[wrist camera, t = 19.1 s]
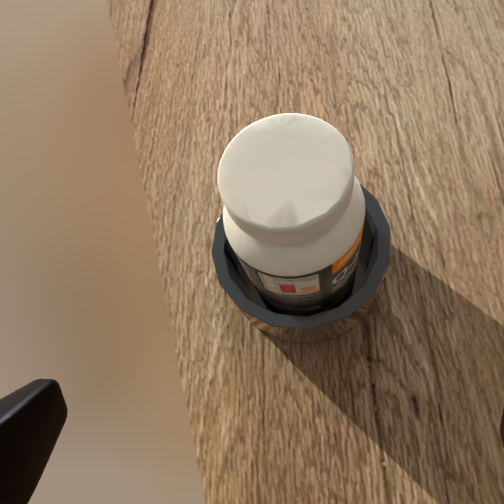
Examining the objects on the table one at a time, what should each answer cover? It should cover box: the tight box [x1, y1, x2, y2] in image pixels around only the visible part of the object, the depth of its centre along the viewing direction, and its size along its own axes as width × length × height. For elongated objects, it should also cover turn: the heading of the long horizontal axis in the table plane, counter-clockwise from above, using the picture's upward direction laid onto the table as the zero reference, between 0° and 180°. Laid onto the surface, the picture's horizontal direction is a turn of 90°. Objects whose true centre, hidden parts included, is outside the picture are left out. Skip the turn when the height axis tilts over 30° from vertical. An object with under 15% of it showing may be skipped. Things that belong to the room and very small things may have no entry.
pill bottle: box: [218, 113, 365, 316], centre depth 19 cm, size 6×6×10 cm
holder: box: [212, 185, 390, 343], centre depth 22 cm, size 8×8×4 cm
